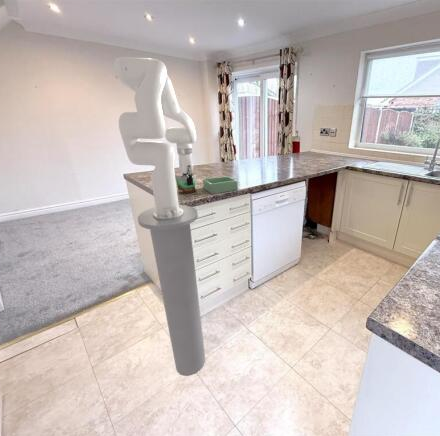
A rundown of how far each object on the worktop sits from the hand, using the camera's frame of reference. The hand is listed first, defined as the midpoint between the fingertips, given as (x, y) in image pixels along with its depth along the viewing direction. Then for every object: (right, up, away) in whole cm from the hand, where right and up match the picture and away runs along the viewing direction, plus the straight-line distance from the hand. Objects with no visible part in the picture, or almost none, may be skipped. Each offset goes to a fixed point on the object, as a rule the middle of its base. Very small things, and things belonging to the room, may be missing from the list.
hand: (188, 183), depth 139 cm
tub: (+16, -2, +9) cm, 19 cm away
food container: (0, -5, +2) cm, 5 cm away
